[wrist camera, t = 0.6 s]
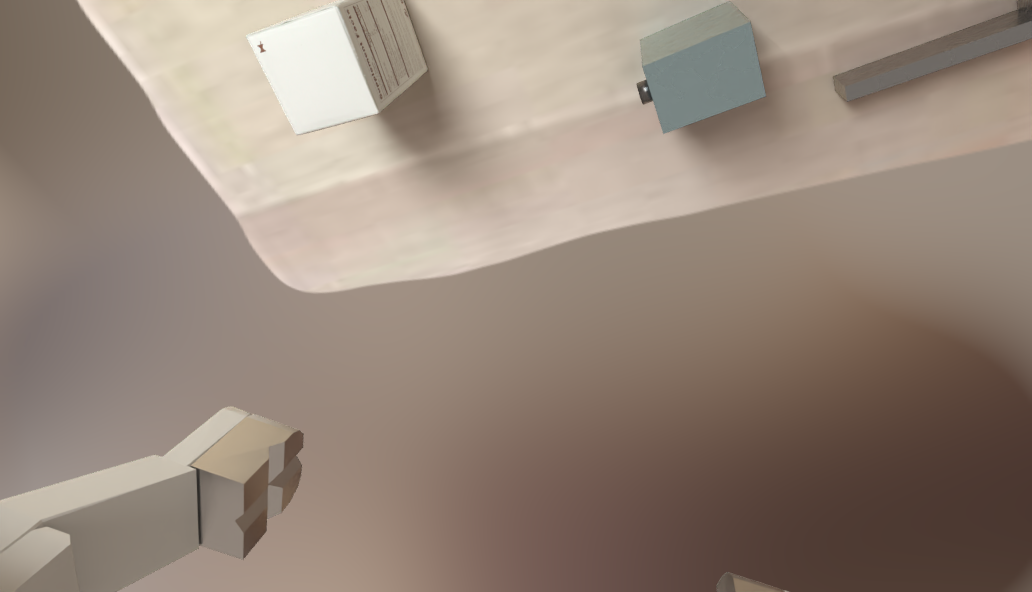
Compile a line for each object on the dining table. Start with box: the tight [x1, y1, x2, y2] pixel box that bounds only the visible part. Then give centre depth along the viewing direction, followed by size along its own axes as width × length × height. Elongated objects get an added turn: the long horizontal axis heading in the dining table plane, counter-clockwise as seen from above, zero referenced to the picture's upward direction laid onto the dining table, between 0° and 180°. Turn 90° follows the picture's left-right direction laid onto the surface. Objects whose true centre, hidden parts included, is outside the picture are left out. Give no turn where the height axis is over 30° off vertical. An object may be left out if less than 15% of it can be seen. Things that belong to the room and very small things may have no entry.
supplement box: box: [246, 0, 428, 135], centre depth 43 cm, size 7×7×13 cm
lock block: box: [637, 1, 766, 134], centre depth 41 cm, size 8×5×9 cm, turn 115°
